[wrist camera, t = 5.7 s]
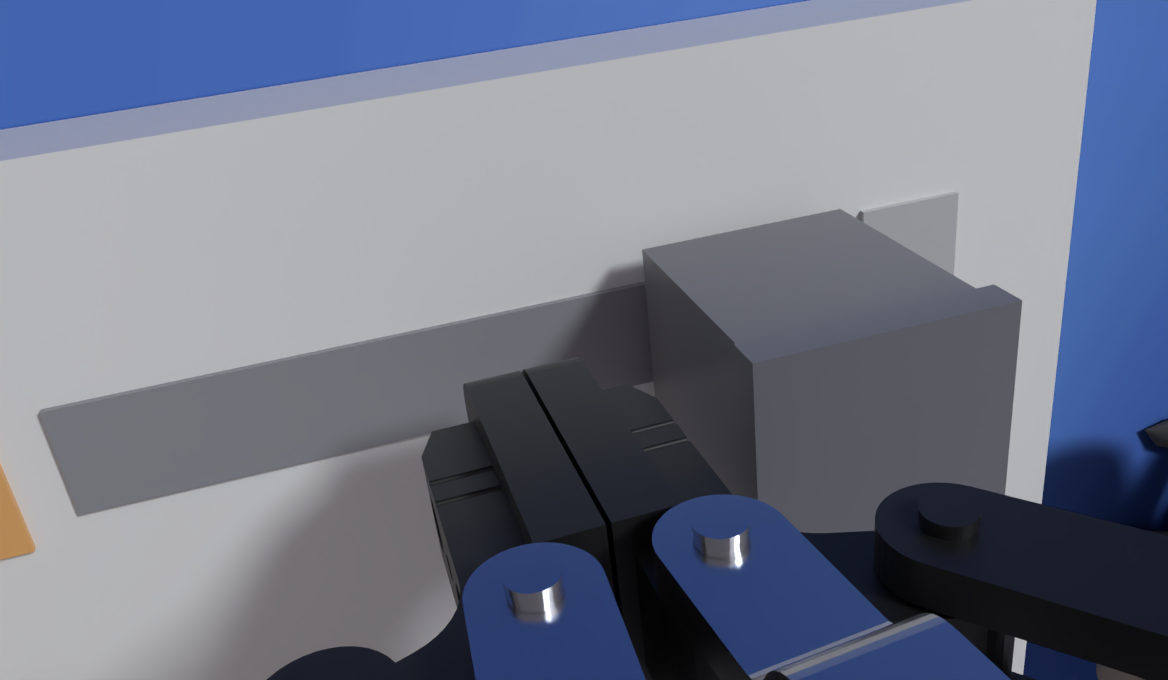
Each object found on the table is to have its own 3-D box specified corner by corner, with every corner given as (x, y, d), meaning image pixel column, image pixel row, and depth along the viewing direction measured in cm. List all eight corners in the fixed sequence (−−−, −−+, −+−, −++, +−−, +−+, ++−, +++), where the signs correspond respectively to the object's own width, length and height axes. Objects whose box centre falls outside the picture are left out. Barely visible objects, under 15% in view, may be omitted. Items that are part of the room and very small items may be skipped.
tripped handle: (846, 201, 15) (1022, 300, 11) (845, 395, 16) (1001, 536, 13) (634, 243, 14) (752, 363, 11) (652, 442, 15) (762, 604, 12)
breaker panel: (1011, -32, 17) (1103, -21, 15) (953, 758, 25) (1009, 830, 23) (-497, 208, 12) (-629, 266, 11) (18, 1067, 20) (-6, 1186, 19)
